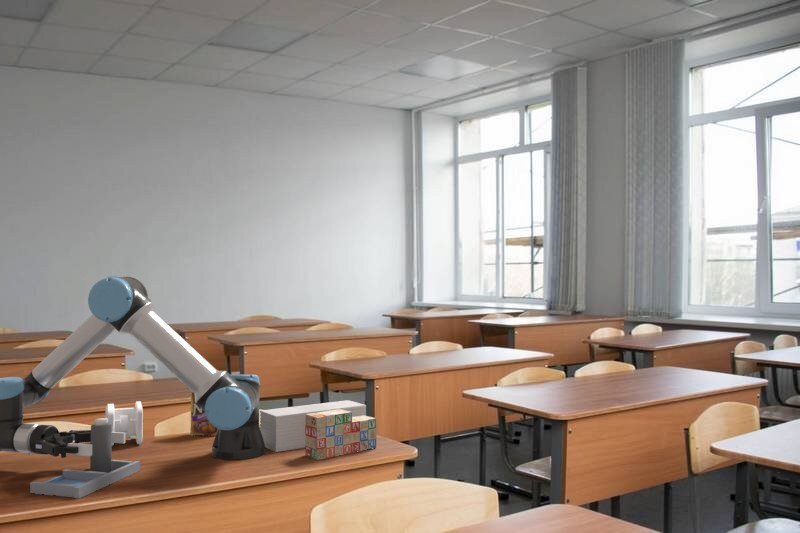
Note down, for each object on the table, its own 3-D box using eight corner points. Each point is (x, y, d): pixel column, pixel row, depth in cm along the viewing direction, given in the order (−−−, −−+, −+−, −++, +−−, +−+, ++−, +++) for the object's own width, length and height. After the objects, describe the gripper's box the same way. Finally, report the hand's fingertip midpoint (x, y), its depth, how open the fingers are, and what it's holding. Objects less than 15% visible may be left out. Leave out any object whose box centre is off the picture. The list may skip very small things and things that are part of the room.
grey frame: (139, 470, 188) (139, 461, 188) (78, 498, 164) (78, 487, 164) (93, 467, 191) (93, 457, 191) (26, 493, 168) (26, 483, 168)
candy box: (189, 436, 227) (190, 389, 228) (192, 433, 232) (192, 386, 232) (218, 436, 228) (218, 388, 229) (220, 433, 233) (220, 386, 233)
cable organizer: (142, 446, 214) (143, 408, 214) (105, 450, 210) (105, 410, 210) (140, 436, 228) (141, 400, 228) (105, 439, 224) (105, 402, 224)
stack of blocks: (364, 445, 218) (364, 405, 219) (376, 449, 214) (376, 408, 214) (304, 456, 205) (305, 413, 205) (316, 460, 200) (316, 416, 200)
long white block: (348, 432, 236) (348, 400, 237) (365, 438, 228) (366, 404, 228) (259, 445, 217) (260, 410, 217) (275, 452, 209) (276, 416, 209)
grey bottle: (115, 473, 185) (115, 418, 185) (103, 479, 180) (103, 421, 180) (98, 472, 186) (99, 417, 186) (85, 477, 181) (86, 420, 181)
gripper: (70, 442, 200) (136, 447, 195) (1, 465, 175) (75, 471, 170) (70, 415, 200) (137, 419, 195) (1, 435, 175) (76, 440, 170)
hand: (108, 444), depth 183 cm, fingers open, 13 cm apart
